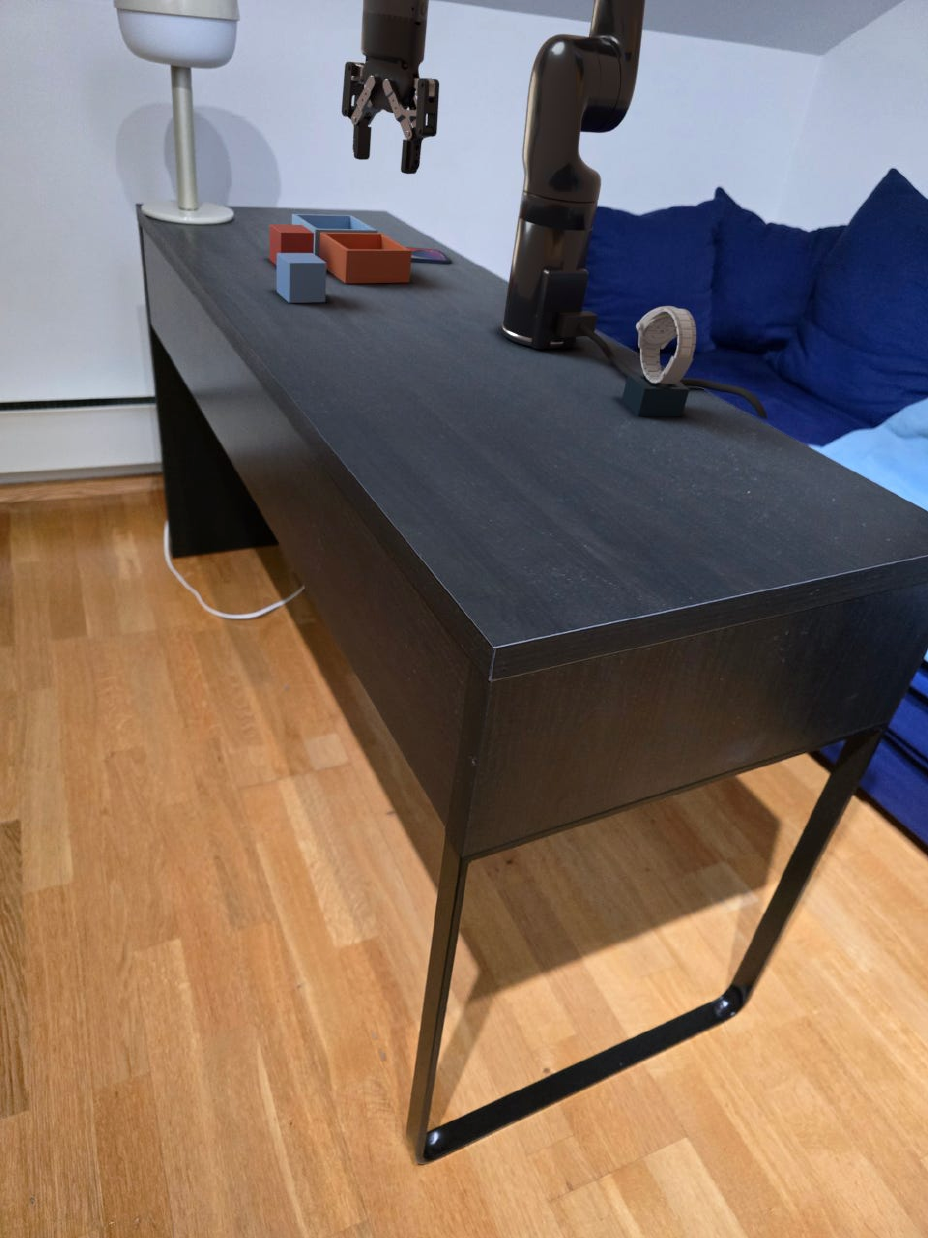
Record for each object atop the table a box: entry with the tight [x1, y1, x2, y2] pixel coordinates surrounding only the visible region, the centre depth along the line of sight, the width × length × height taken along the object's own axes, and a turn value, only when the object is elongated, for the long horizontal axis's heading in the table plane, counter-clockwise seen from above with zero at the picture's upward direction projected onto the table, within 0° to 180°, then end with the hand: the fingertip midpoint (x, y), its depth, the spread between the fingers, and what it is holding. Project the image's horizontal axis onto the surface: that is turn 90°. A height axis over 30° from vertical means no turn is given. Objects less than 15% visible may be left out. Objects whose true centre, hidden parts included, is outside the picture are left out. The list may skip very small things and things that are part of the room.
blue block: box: [276, 253, 327, 304], centre depth 116 cm, size 5×5×5 cm
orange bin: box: [319, 232, 412, 284], centre depth 130 cm, size 10×10×4 cm
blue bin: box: [291, 213, 378, 257], centre depth 139 cm, size 10×10×4 cm
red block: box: [269, 223, 314, 266], centre depth 129 cm, size 5×5×5 cm
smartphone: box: [405, 246, 450, 265], centre depth 144 cm, size 7×15×1 cm, turn 107°
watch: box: [621, 305, 697, 417], centre depth 96 cm, size 6×8×11 cm
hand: (384, 165), depth 111 cm, fingers open, 8 cm apart
